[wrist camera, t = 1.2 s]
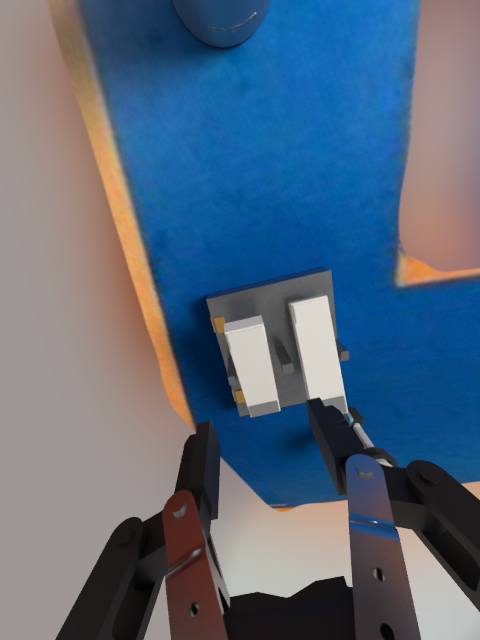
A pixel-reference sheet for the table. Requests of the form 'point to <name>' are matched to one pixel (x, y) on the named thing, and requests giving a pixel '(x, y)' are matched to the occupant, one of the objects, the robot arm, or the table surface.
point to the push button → (367, 439)
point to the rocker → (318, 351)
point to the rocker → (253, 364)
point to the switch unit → (272, 327)
